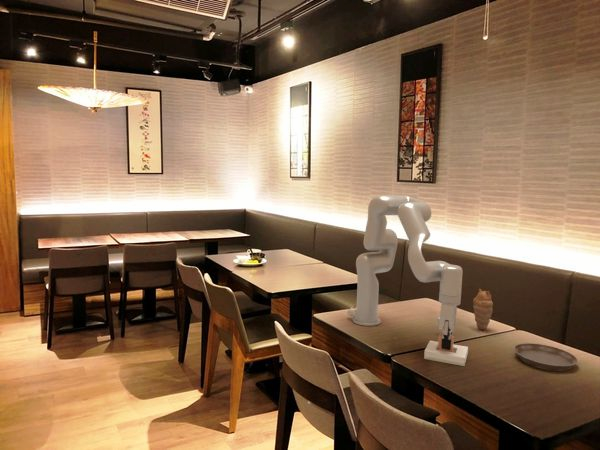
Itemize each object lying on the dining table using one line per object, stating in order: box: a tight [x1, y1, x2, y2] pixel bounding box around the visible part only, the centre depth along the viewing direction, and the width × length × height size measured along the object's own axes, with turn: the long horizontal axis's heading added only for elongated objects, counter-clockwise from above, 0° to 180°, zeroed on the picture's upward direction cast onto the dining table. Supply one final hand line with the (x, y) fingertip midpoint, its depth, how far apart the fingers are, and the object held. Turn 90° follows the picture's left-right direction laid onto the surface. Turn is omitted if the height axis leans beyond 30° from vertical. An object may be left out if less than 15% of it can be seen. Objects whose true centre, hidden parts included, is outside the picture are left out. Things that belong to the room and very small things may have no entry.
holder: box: [423, 340, 469, 367], centre depth 173 cm, size 14×12×3 cm
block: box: [437, 332, 455, 352], centre depth 173 cm, size 5×3×7 cm, turn 65°
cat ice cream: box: [472, 288, 494, 331], centre depth 203 cm, size 9×8×18 cm
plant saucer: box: [513, 342, 579, 372], centre depth 171 cm, size 21×21×3 cm
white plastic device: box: [436, 315, 454, 335], centre depth 197 cm, size 7×2×8 cm, turn 104°
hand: (446, 346), depth 172 cm, fingers open, 3 cm apart
